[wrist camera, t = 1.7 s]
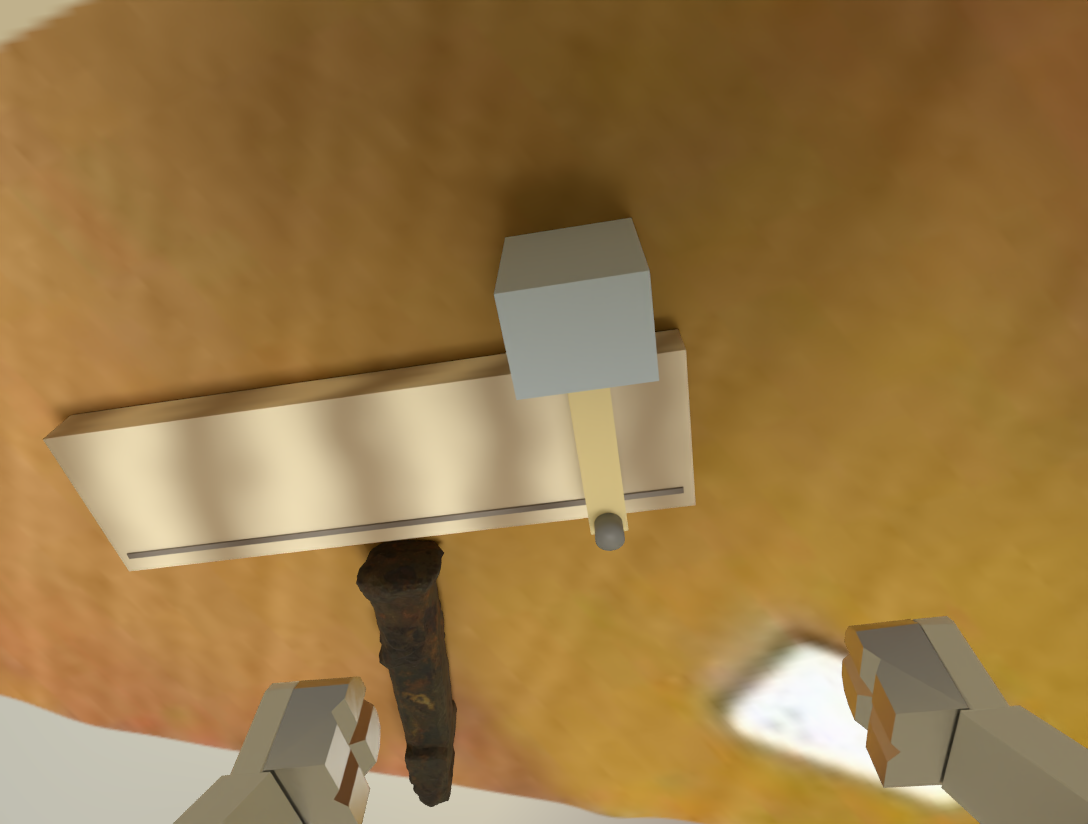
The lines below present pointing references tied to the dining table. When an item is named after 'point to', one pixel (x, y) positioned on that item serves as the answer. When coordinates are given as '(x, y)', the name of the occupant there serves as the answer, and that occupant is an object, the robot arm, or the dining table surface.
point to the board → (363, 460)
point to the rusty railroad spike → (415, 657)
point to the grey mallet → (581, 341)
